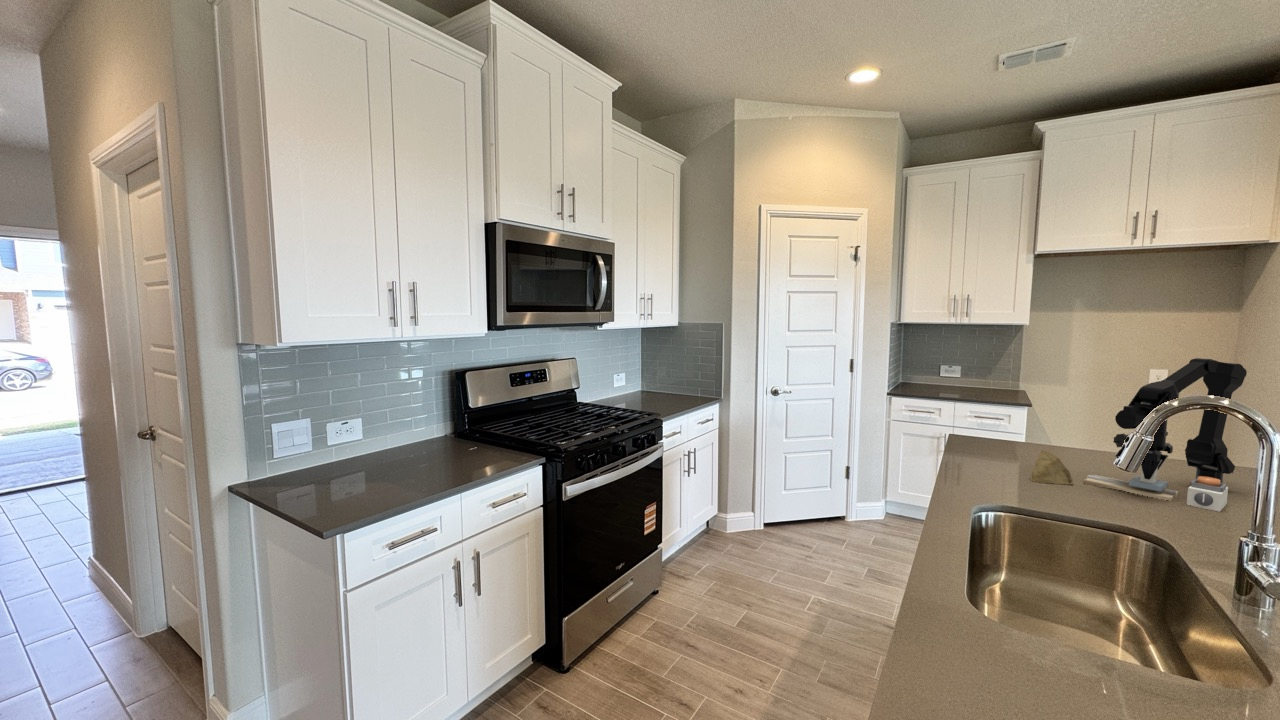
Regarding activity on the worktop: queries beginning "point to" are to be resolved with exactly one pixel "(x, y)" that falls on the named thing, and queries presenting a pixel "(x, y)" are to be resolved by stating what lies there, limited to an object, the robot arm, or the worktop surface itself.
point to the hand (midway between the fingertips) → (1148, 478)
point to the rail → (1129, 487)
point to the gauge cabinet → (1207, 496)
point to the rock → (1050, 470)
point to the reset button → (1208, 481)
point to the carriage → (1148, 482)
